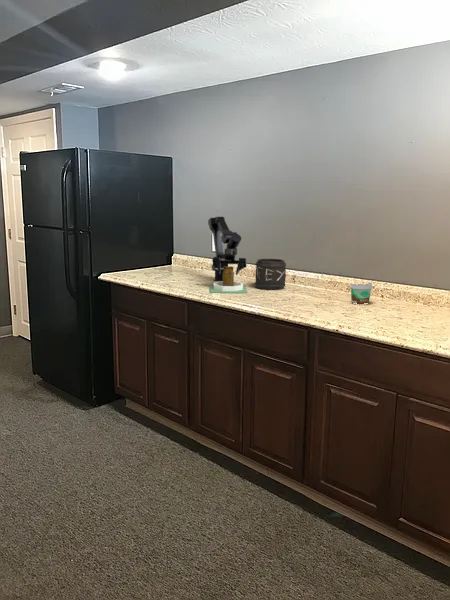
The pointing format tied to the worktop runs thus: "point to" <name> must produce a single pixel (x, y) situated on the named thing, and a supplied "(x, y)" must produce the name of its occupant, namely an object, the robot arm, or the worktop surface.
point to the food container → (360, 293)
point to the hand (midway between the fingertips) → (227, 274)
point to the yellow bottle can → (228, 276)
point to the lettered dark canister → (270, 274)
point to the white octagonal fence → (228, 287)
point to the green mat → (227, 291)
